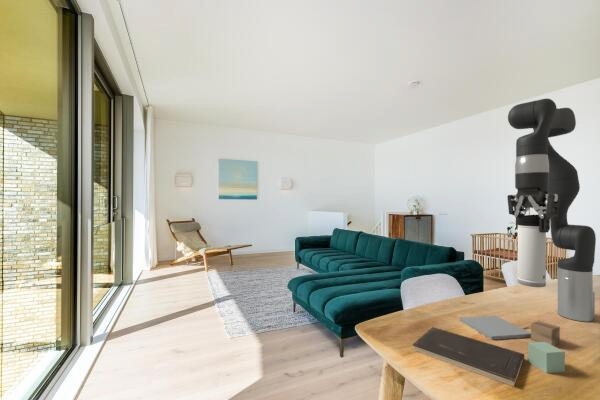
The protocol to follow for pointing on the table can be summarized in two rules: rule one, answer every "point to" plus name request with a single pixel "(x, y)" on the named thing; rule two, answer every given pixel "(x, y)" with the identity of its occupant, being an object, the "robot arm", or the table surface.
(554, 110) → the robot arm
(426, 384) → the table surface
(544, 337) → the walnut block
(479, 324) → the slate board
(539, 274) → the travel mug
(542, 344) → the sage block
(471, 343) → the hardcover book
